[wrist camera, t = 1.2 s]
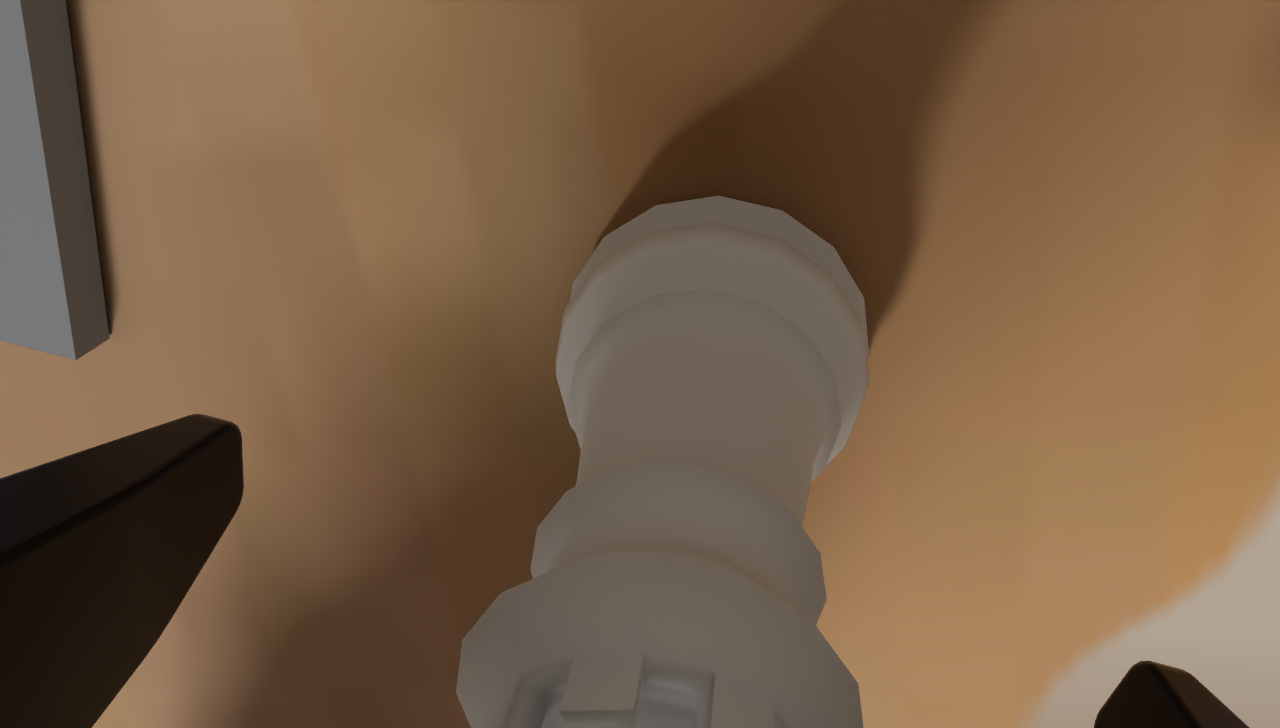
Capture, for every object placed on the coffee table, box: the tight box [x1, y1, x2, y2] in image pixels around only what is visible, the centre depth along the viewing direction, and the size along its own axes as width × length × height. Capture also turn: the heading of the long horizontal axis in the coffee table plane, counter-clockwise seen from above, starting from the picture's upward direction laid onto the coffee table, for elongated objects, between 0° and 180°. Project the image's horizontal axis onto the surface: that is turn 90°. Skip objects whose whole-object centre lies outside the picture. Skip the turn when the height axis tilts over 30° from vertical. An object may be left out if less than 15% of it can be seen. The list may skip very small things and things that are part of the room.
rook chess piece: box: [456, 196, 869, 728], centre depth 9 cm, size 4×4×8 cm
